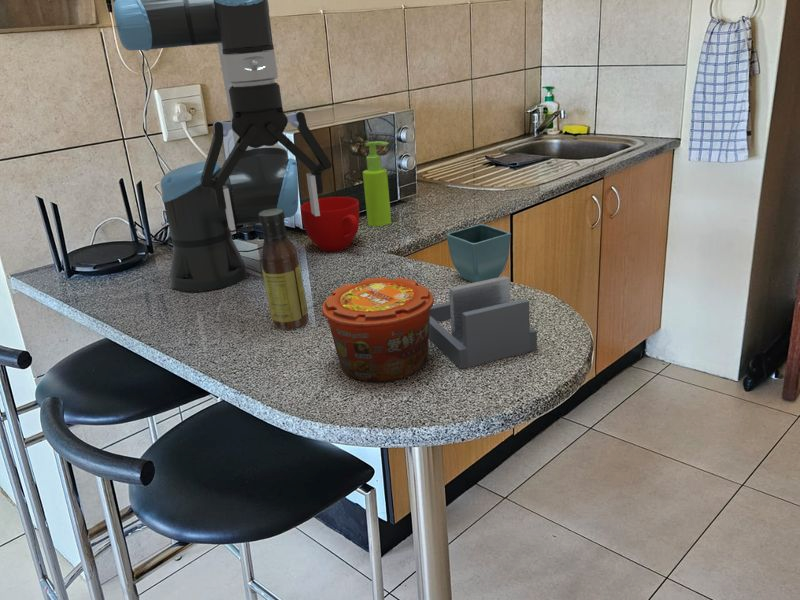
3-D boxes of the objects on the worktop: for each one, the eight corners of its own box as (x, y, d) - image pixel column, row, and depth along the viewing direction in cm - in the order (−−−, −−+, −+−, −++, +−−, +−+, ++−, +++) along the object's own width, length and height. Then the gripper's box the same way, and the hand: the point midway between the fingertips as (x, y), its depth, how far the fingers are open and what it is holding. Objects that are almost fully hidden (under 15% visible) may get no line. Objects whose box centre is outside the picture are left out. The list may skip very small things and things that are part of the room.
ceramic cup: (333, 264, 145) (328, 218, 142) (295, 248, 158) (289, 205, 155) (384, 249, 152) (380, 205, 148) (343, 234, 165) (339, 193, 161)
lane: (413, 324, 114) (409, 278, 111) (481, 308, 117) (479, 264, 114) (460, 369, 98) (457, 317, 95) (536, 349, 102) (536, 299, 99)
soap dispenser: (390, 226, 168) (383, 143, 161) (364, 226, 171) (356, 144, 163) (398, 219, 173) (391, 139, 166) (372, 219, 176) (365, 140, 168)
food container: (307, 376, 100) (297, 308, 96) (369, 332, 112) (362, 270, 108) (401, 399, 92) (395, 325, 88) (457, 349, 104) (453, 282, 100)
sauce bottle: (292, 313, 122) (275, 203, 115) (316, 320, 118) (301, 207, 111) (263, 327, 118) (244, 213, 110) (288, 334, 114) (270, 217, 106)
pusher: (452, 350, 104) (449, 288, 100) (507, 336, 107) (505, 275, 103) (456, 353, 103) (452, 290, 99) (510, 339, 105) (509, 278, 102)
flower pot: (475, 290, 125) (473, 243, 122) (447, 278, 132) (444, 233, 129) (513, 278, 129) (512, 232, 126) (483, 267, 136) (481, 223, 133)
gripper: (168, 93, 96) (197, 240, 104) (340, 75, 104) (355, 213, 111) (165, 91, 103) (193, 229, 110) (327, 73, 110) (342, 204, 118)
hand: (274, 221), depth 111 cm, fingers open, 13 cm apart
